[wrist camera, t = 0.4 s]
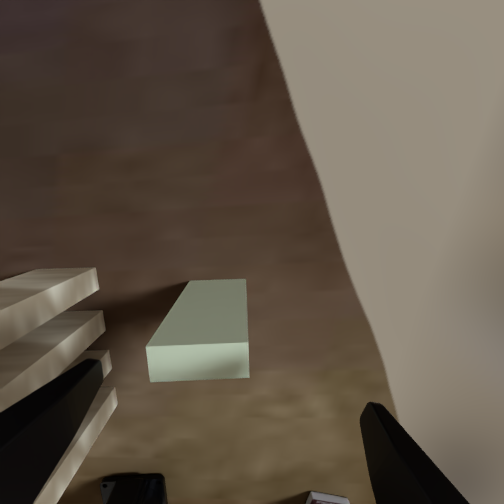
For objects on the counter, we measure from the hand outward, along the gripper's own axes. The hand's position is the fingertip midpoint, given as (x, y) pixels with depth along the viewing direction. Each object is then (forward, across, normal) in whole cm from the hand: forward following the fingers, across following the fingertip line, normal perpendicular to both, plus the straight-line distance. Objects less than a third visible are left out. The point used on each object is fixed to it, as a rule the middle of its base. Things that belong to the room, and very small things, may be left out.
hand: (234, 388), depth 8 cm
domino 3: (+13, +2, +5) cm, 14 cm away
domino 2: (+11, +15, +10) cm, 21 cm away
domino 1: (+12, +16, +6) cm, 20 cm away
